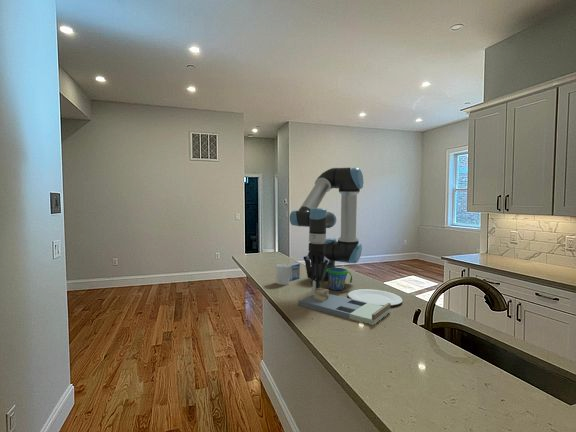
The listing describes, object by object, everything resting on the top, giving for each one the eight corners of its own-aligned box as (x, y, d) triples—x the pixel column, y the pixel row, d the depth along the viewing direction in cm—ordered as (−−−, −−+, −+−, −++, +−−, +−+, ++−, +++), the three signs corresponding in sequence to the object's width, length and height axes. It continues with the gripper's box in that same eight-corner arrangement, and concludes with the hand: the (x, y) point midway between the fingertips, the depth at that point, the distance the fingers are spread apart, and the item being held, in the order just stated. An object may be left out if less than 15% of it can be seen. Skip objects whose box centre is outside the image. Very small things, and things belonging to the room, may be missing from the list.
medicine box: (291, 280, 180) (292, 265, 180) (285, 279, 183) (285, 264, 183) (299, 278, 187) (300, 263, 186) (293, 277, 189) (294, 262, 189)
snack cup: (350, 286, 171) (351, 268, 171) (352, 292, 161) (353, 272, 160) (321, 285, 173) (322, 266, 172) (321, 290, 162) (322, 270, 162)
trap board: (319, 295, 153) (320, 287, 153) (390, 312, 133) (390, 303, 133) (298, 305, 139) (299, 296, 138) (374, 325, 119) (374, 314, 118)
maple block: (319, 296, 145) (319, 287, 145) (328, 298, 143) (328, 289, 143) (314, 298, 142) (314, 290, 142) (323, 301, 139) (323, 292, 139)
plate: (341, 302, 145) (341, 299, 145) (354, 289, 168) (354, 286, 168) (399, 312, 134) (399, 308, 134) (405, 297, 157) (405, 293, 157)
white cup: (283, 280, 180) (283, 263, 179) (293, 283, 174) (293, 265, 173) (272, 283, 174) (273, 264, 173) (282, 286, 168) (283, 267, 168)
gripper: (300, 241, 144) (298, 293, 145) (325, 245, 136) (323, 299, 137) (309, 240, 150) (307, 290, 151) (334, 243, 142) (332, 295, 143)
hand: (315, 294), depth 144 cm, fingers closed
